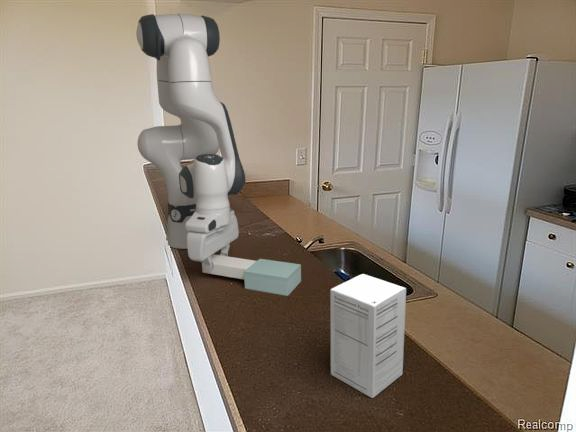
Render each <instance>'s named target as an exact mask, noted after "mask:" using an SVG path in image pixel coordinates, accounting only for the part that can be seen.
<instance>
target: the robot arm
mask: <svg viewBox="0 0 576 432" xmlns="http://www.w3.org/2000/svg"><path fill="white" fill-rule="evenodd" d="M136 40H137V43H138V45H139V47H140V50H141V51H142V52H143V53H144V54H145V55H146V56H147V57H151V58H154V59H156V85H157V93H158V103H159V106H160V107H161V109H162V110H163V111H165V112H166V113H168V114H170V115H172V116H174V117H176V118H179V119H180V123H179V124H175V125H159V126H154V127H153V126H152V127H149V128H146V129H143V130H141V132H140V133H139V135H138V138H137V149H138V151H139V153H140V156H141V157H142V158H143V159H145V160H146V161H147V162H150V163H151V164H153V166H155V167H156V168H157V169H158V171H159V172H160V174H161V175H162V177H163V180H164V182H165V187H166V192H167V201H168V202H167V205H166V206H167V208H166V209H167V214H168V217H167V235H166V236H165V240H166V241H167V245H168V246H169V247H171V248H173V249H180V250H181V249H183V250H184V249H186V250H187V256H188V257H189V259H190V260H191V261H194V262H200V263H202V262H204V264H205V269H206V270H209V271H210V270H212V269H213V268H214V266H213V265H214V263H212V262H211V261H210V259H211V256H212V255H214V254H215V253H218V252H219V251H220V250H221V251H220V253H219V255H221V256H228V257H229V255H228V254H229V251H230V247H231V246H230V245H231V244H230V243H233V241H235V240H237V239H238V238H239V234H240V231H239V223H238V219H237V216H236V215H235V211H234V210H233V208H231V206H230V205H231V204H230V201H229V200H230V199H229V196H235V195H237V194H239V193H240V192H241V191H242V189H243V188H244V187H245V184H246V173H245V170H244V168H243V167H244V166H243V164H242V161H241V159H240V154H239V151H238V146H237V143H236V139H235V134H234V130H233V126H232V121H231V119H230V115H229V112H228V109H227V106H226V105H225V104H224V103H223V102H221V101H220V100H219V99H218V97H217V95H216V93H215V90H214V87H213V78H212V72H211V65H210V61H209V57H211V56H213V55H215V54H216V53H217V51H218V50H219V48H220V42H221V33H220V29H219V26H218V23H217V21H215V19H214V18H212V17H210V16H206V15H201V16H200V15H194V14H189V13H188V14H187V13H186V14H185V13H173V14H172V13H171V14H168V13H167V14H157V15H156V14H145V15H143V16H141V17H140V18H139V20H138V24H137V27H136ZM219 151H220V155H221V156H220V155H218V152H219ZM185 160H194V163H192V164H190V165H187V164H186V165H187V166H186V165H184V166H183V167H182V165H181V162H182V161H185Z"/></svg>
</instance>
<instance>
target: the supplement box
mask: <svg viewBox="0 0 576 432" xmlns="http://www.w3.org/2000/svg"><path fill="white" fill-rule="evenodd" d="M329 295H330V296H329V297H330V311H329V312H330V375H331V376H333V377H335V378H336V379H338V380H340V381H341V382H343V383H345V384H347V385H348V386H350V387H352V388H354V389H355V390H357V391H359V392H361V393H362V394H364V395H366V396H367V397H368V398H371V399H374V398H375V397H376V396H377V395H379V394H380V393H381V392H382V391H384V390H385V389H386V388H388V386H390V385H391V384H392V383H394V382H395V381H396V380H397V379H399V378H400V377H401V376H402V375H403V373H404V372H403V369H404V350H405V349H404V346H405V326H406V325H405V324H406V323H405V322H406V302H407V301H406V300H407V298H406V297H407V288H406V287H404V286H400V285H398V284H395V283H392V282H389V281H387V280H383V279H381V278H377V277H374V276H371V275H368V274H365V273H362V274H359V275H357V276H355V277H352V278H350V279H349V280H347V281H344V282H342V283H340V284H337V285H336V286H334V287H332V288H330V293H329Z"/></svg>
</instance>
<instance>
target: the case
mask: <svg viewBox="0 0 576 432" xmlns="http://www.w3.org/2000/svg"><path fill="white" fill-rule="evenodd" d="M255 261H256V262H255V263H254V264H252V265H251V266H250V267H249V268H247V269H246V270H245V271H244V279H243V281H244V289H247V290H251V291H257V292H263V293H267V294H275V295H280V296H286V297H287V296H289V295H290V294H291V293H292V292H293V290H295V289H296V287H298V285H299V284H300V283H301V282H302V264H300V263H294V262H287V261H286V262H285V261H278V260H272V259H265V258H259V259H258V260H255Z"/></svg>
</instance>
